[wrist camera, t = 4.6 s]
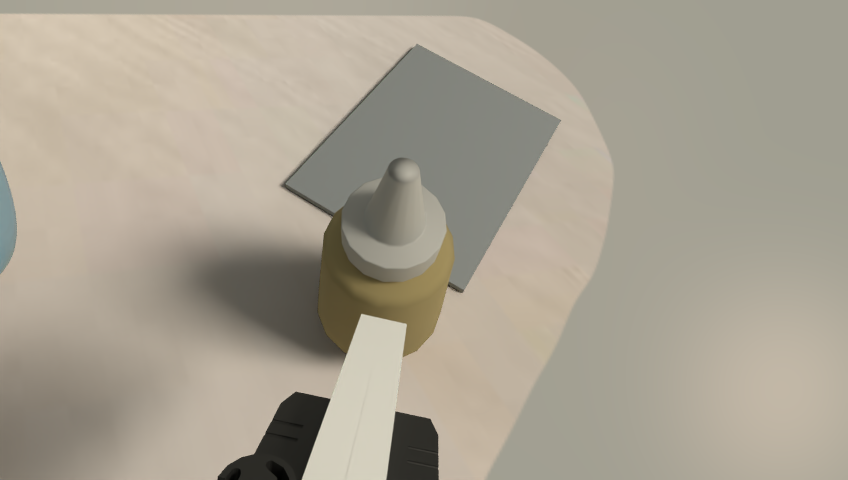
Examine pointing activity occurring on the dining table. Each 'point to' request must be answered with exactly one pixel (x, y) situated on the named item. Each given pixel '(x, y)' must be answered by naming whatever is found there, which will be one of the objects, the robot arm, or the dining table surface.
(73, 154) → the dining table surface
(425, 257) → the squeeze bottle
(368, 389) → the robot arm
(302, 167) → the rubber mat
